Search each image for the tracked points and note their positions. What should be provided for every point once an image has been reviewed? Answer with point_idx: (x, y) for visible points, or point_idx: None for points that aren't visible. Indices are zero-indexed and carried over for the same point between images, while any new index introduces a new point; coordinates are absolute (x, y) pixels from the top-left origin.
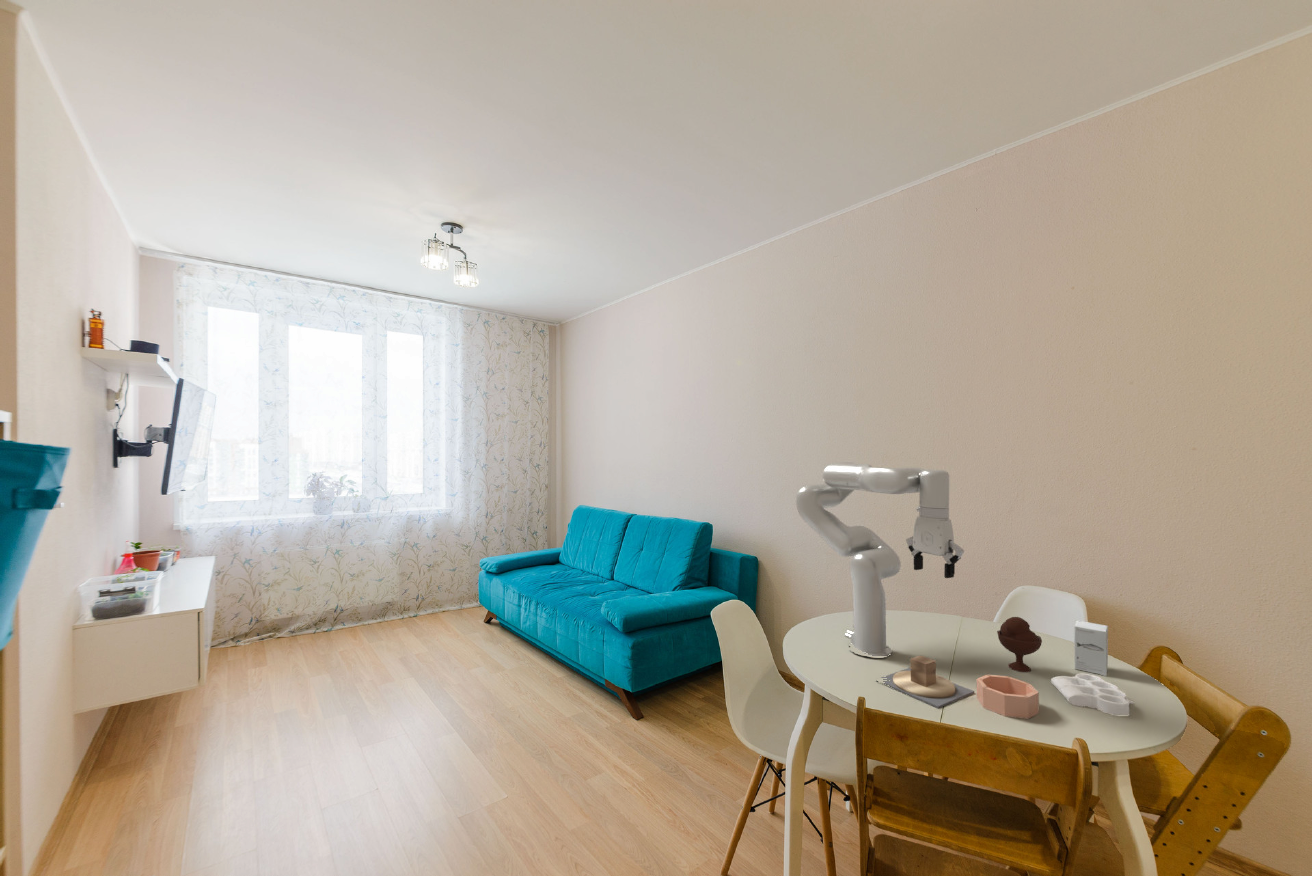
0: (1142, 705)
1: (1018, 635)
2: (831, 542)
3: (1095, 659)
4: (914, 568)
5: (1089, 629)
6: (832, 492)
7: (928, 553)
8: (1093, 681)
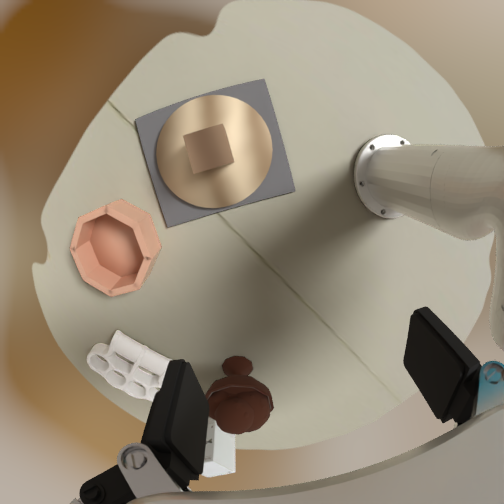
0: (118, 389)
1: (220, 400)
2: None
3: None
4: (424, 310)
5: None
6: None
7: (339, 476)
8: (146, 390)
